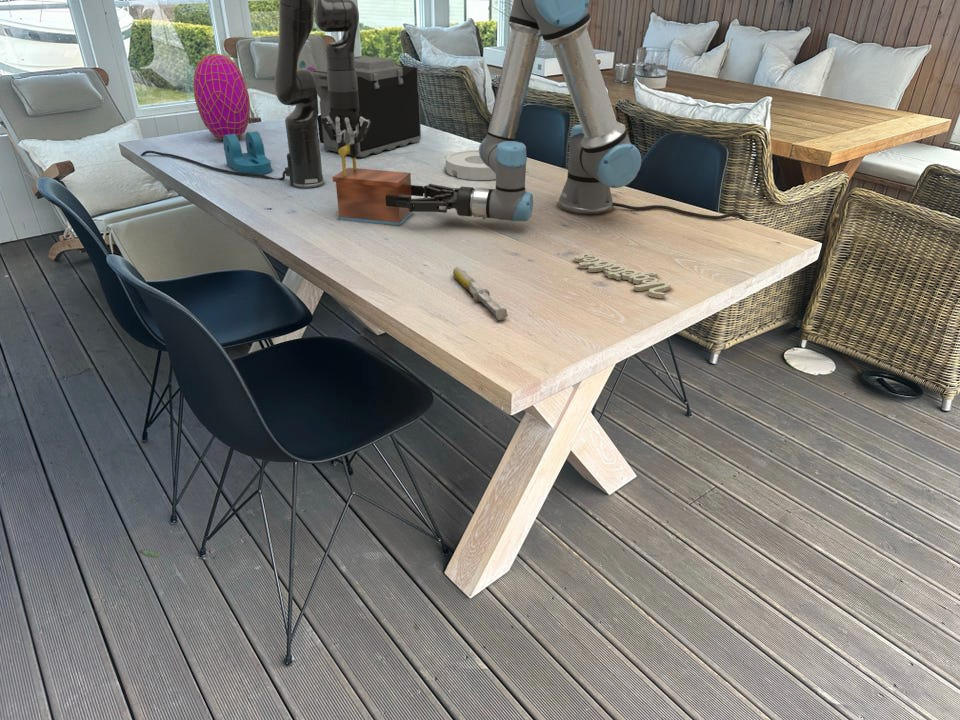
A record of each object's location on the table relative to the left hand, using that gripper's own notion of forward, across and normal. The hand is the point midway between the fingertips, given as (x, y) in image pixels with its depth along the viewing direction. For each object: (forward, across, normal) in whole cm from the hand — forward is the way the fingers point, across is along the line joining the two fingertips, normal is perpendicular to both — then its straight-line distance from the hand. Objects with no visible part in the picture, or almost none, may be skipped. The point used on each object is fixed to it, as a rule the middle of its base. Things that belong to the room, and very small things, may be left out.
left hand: (348, 157), depth 182 cm
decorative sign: (+16, -76, +22) cm, 80 cm away
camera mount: (+16, +52, -33) cm, 63 cm away
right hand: (+9, -12, 0) cm, 15 cm away
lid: (+5, -6, 0) cm, 8 cm away
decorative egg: (+16, +82, -68) cm, 108 cm away
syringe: (+16, -47, +42) cm, 65 cm away
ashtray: (+16, -22, -53) cm, 60 cm away
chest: (+16, -7, 0) cm, 17 cm away
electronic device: (+16, +26, -75) cm, 81 cm away
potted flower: (+16, +66, -104) cm, 125 cm away
